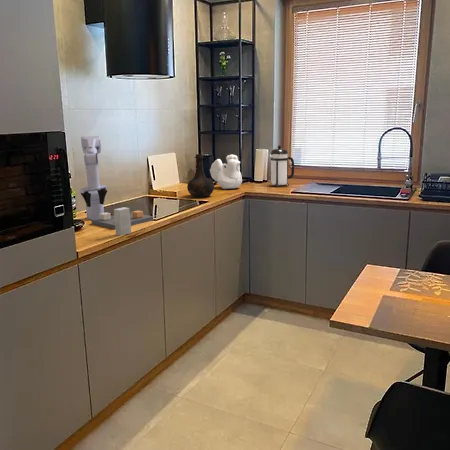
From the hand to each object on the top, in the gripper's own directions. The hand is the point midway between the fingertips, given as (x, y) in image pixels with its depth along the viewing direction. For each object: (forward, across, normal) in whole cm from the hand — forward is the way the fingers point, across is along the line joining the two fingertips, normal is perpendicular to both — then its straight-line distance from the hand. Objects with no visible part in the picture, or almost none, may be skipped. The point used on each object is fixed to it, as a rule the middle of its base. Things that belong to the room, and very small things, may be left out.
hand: (95, 205), depth 229 cm
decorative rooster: (+11, +127, +20) cm, 129 cm away
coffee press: (+11, +157, -7) cm, 157 cm away
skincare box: (+10, -2, -24) cm, 26 cm away
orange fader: (+8, +19, -9) cm, 22 cm away
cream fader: (+8, +6, +1) cm, 10 cm away
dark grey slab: (+10, +13, -4) cm, 17 cm away
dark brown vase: (+11, +91, +13) cm, 92 cm away
